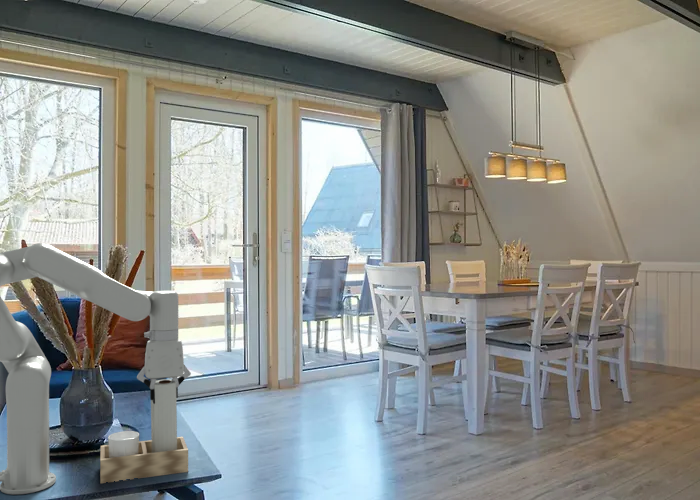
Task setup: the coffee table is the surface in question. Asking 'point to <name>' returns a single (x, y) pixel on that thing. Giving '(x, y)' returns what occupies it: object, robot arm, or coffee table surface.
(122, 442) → the white cup
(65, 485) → the coffee table surface
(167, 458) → the wooden caddy
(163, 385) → the paper towel roll
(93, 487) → the coffee table surface
